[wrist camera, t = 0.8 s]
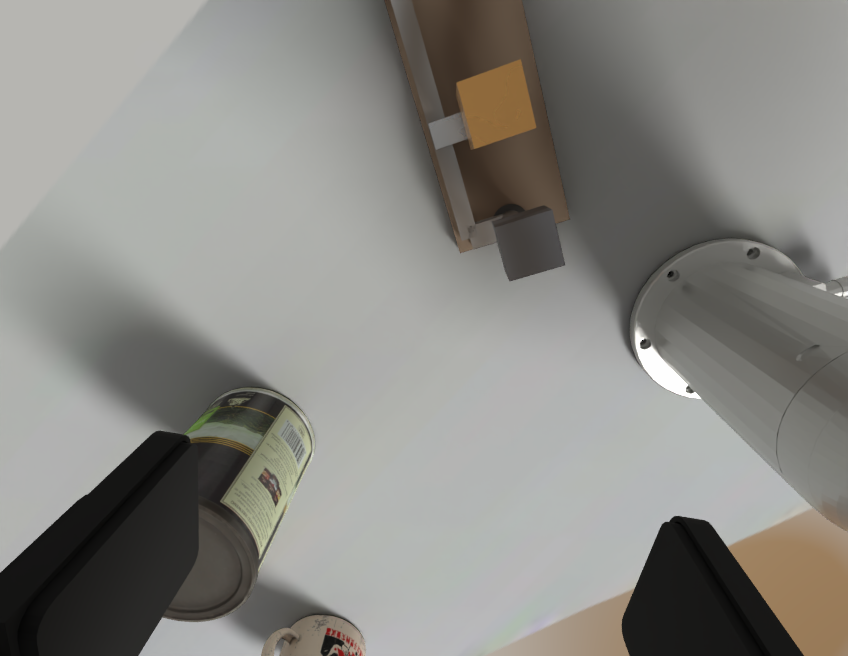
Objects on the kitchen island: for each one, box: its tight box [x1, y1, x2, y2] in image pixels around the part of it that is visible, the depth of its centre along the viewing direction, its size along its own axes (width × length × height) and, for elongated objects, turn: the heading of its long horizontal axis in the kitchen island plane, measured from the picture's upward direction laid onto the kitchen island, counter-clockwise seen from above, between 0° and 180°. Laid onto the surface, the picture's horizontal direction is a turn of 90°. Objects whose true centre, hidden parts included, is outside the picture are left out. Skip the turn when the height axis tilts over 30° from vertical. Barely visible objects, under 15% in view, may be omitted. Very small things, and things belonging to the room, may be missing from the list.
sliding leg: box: [428, 59, 536, 150], centre depth 27 cm, size 5×3×10 cm, turn 108°
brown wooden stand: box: [384, 0, 570, 281], centre depth 27 cm, size 8×20×11 cm, turn 18°
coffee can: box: [163, 387, 315, 622], centre depth 36 cm, size 10×10×14 cm
